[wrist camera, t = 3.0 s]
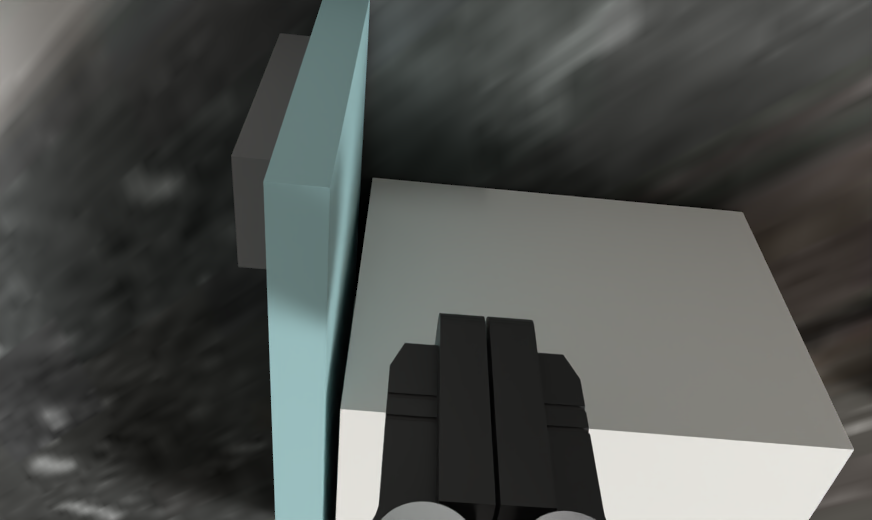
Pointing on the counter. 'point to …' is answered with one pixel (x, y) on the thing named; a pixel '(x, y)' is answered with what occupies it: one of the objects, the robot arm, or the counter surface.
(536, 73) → the counter surface
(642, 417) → the white cabinet box
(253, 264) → the side door
